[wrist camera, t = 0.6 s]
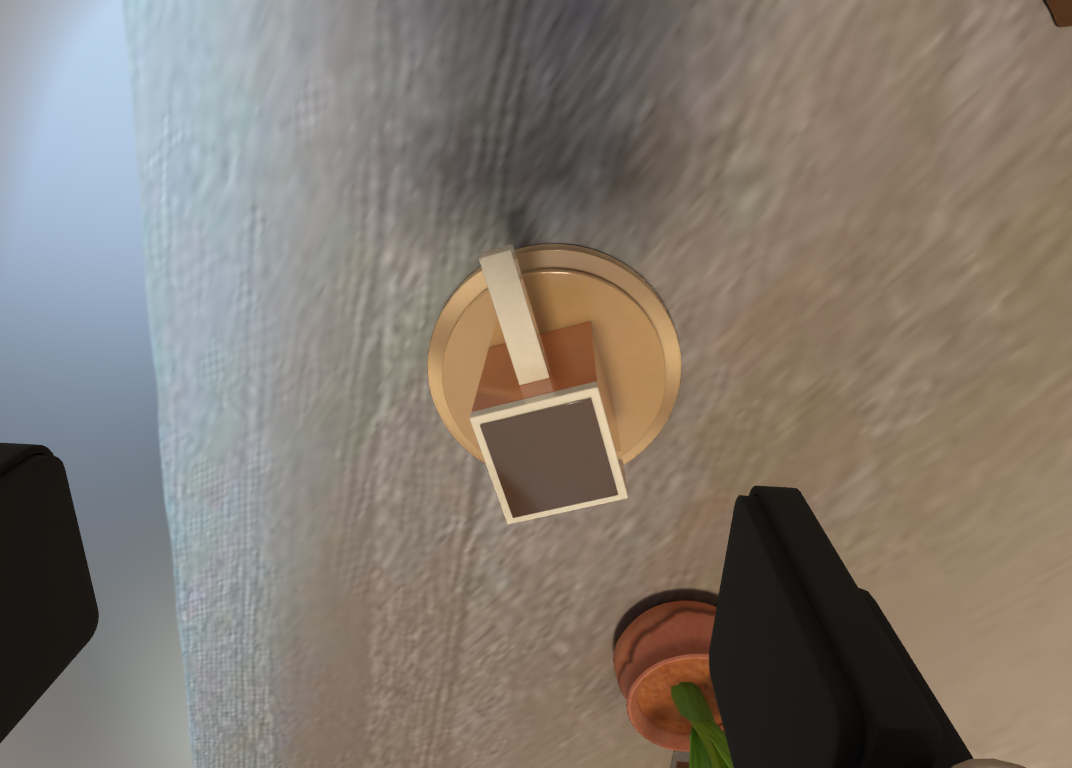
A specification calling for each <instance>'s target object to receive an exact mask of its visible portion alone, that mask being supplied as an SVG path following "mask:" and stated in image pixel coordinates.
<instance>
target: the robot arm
mask: <svg viewBox="0 0 1072 768" xmlns="http://www.w3.org/2000/svg"><path fill="white" fill-rule="evenodd" d="M98 617H99V614H98V607H97V603H96V599H95V594H94V590H93V586H92V582H91V577H90V573H89V569H88V565H87V560H86V557H85V552H84V548H83V543H82V540H81V535H80V531H79V526H78V522H77V518H76V514H75V510H74V506H73V501H72V497H71V493H70V488H69V484H68V480H67V476H66V471H65V467H64V465H63V462H62V461H61V460H60V459H59V458H57V457H55V456H54V455H53V453H52V452H51V451H50V450H49V449H48V448H47V447H45V446H43V445H30V444H13V443H0V743H1V742H2V741H3V740H4V738H5V737H6V736H7V735H8V734H9V732H10V731H11V730H12V729H13V728H14V727H15V726H16V724H17V723H18V722H19V721H20V720H21V719H22V718H23V716H24V715H25V714H26V713H27V712H28V711H29V710H30V708H31V707H32V706H33V705H34V704H35V702H36V701H37V700H38V699H39V698H40V697H41V696H42V695H43V693H44V692H45V691H46V690H47V689H48V688H49V686H50V685H51V684H52V683H53V682H54V681H55V679H57V677H58V676H59V675H60V674H61V673H62V672H63V670H64V669H65V668H66V667H67V666H68V665H69V664H70V662H71V661H72V660H73V659H74V658H75V657H76V655H77V654H78V653H79V652H80V651H81V650H82V648H83V647H84V646H85V645H86V644H87V643H88V642H89V640H90V639H91V637H92V636H93V635H94V632H95V630H96V628H97V624H98ZM709 671H710V677H711V681H712V685H713V689H714V693H715V697H716V701H717V705H718V709H719V713H720V717H721V720H722V724H723V728H724V732H725V736H726V740H727V744H728V748H729V752H730V756H731V760H732V764H733V767H734V768H1025V767H1023V766H1021V765H1018V764H1013V763H1009V762H1005V761H1001V760H996V759H973V757H972V755H971V754H970V752H969V750H968V749H967V747H966V746H965V744H964V742H963V741H962V739H961V738H960V736H959V734H958V733H957V731H956V730H955V728H954V726H953V725H952V723H951V721H950V720H949V718H948V717H947V715H946V713H945V712H944V710H943V709H942V707H941V705H940V704H939V702H938V701H937V699H936V697H935V696H934V694H933V693H932V691H931V689H930V688H929V686H928V684H927V683H926V681H925V680H924V678H923V676H922V675H921V673H920V672H919V670H918V668H917V667H916V665H915V664H914V662H913V660H912V659H911V657H910V655H909V654H908V652H907V651H906V649H905V647H904V646H903V644H902V643H901V641H900V639H899V638H898V636H897V635H896V633H895V631H894V630H893V628H892V627H891V625H890V623H889V622H888V620H887V618H886V617H885V615H884V614H883V612H882V610H881V609H880V607H879V606H878V604H877V602H876V601H875V599H874V598H873V597H872V596H871V595H870V593H869V592H868V591H865V590H863V589H861V588H858V587H857V585H856V583H855V582H854V580H853V578H852V577H851V575H850V573H849V572H848V570H847V569H846V567H845V565H844V564H843V562H842V560H841V559H840V557H839V555H838V554H837V552H836V550H835V549H834V547H833V545H832V544H831V542H830V540H829V539H828V537H827V535H826V534H825V532H824V530H823V529H822V527H821V525H820V524H819V522H818V520H817V519H816V517H815V515H814V514H813V512H812V510H811V509H810V507H809V505H808V504H807V502H806V500H805V499H804V497H803V495H802V494H801V492H800V491H799V490H798V489H797V488H786V487H769V486H754V487H753V488H752V489H751V491H750V494H749V496H742V495H739V496H738V497H737V499H736V502H735V506H734V512H733V517H732V523H731V529H730V534H729V540H728V546H727V551H726V557H725V563H724V568H723V574H722V580H721V585H720V591H719V597H718V602H717V608H716V613H715V619H714V625H713V630H712V636H711V642H710V648H709Z"/></svg>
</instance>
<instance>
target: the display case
mask: <svg viewBox="0 0 1072 768" xmlns="http://www.w3.org/2000/svg"><path fill="white" fill-rule="evenodd" d="M689 757H690V752H683V751H676V750H674V754H673V758H672V763H671V767H670V768H689Z"/></svg>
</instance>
